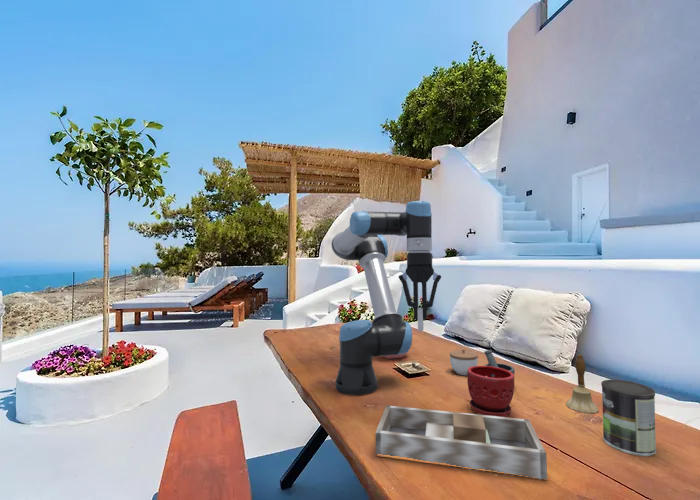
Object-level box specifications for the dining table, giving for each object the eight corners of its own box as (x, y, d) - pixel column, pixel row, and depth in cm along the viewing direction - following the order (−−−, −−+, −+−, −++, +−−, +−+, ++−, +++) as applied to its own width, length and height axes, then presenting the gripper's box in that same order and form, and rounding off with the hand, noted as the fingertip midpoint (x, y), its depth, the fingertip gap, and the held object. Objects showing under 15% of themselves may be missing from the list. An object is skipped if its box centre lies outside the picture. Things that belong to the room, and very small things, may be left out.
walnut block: (454, 445, 81) (453, 426, 81) (453, 431, 87) (453, 413, 87) (486, 449, 79) (485, 429, 79) (482, 434, 85) (482, 416, 86)
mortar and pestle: (520, 389, 121) (520, 354, 121) (501, 393, 117) (500, 358, 117) (495, 379, 131) (494, 347, 131) (476, 383, 127) (475, 350, 127)
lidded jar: (463, 379, 131) (462, 354, 132) (444, 371, 141) (443, 347, 141) (484, 374, 136) (483, 350, 136) (464, 367, 146) (464, 344, 146)
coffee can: (610, 451, 82) (608, 391, 82) (597, 431, 91) (596, 377, 92) (665, 460, 78) (663, 397, 78) (646, 438, 87) (645, 382, 88)
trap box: (375, 456, 81) (375, 432, 81) (386, 425, 96) (386, 405, 96) (547, 480, 72) (546, 453, 72) (529, 441, 87) (529, 419, 87)
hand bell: (588, 416, 100) (587, 360, 100) (560, 405, 107) (558, 353, 108) (604, 409, 104) (603, 356, 104) (575, 399, 111) (574, 349, 112)
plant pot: (512, 425, 95) (511, 381, 95) (463, 414, 102) (462, 373, 102) (517, 407, 106) (516, 368, 106) (473, 398, 113) (472, 361, 113)
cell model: (417, 354, 166) (417, 330, 166) (400, 365, 149) (399, 339, 149) (385, 349, 175) (385, 327, 175) (366, 359, 158) (365, 334, 158)
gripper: (396, 252, 104) (397, 331, 103) (441, 251, 100) (442, 333, 100) (399, 252, 111) (400, 326, 110) (441, 252, 108) (443, 328, 107)
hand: (420, 329), depth 105 cm, fingers closed
